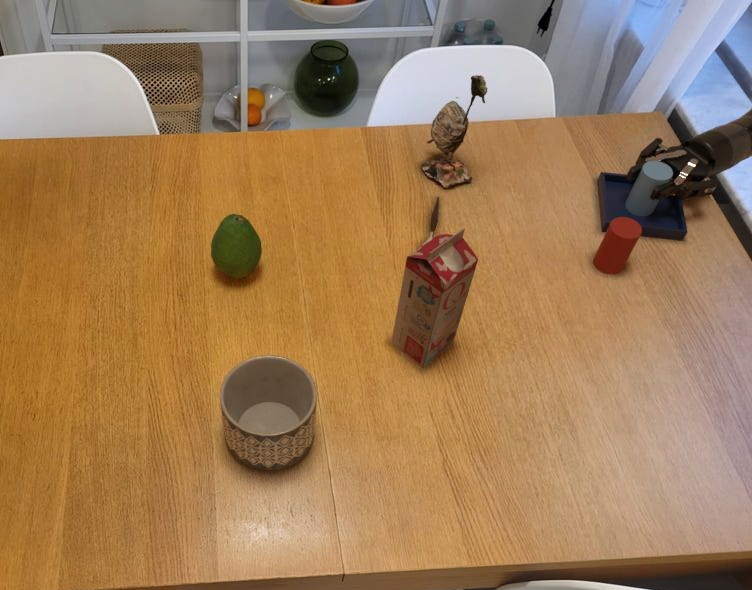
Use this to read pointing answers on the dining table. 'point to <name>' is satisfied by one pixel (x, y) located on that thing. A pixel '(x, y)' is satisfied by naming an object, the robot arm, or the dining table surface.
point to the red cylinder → (617, 245)
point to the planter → (268, 411)
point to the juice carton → (433, 297)
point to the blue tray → (659, 224)
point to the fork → (433, 221)
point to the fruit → (236, 247)
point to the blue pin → (647, 188)
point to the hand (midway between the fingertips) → (641, 185)
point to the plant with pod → (452, 138)
